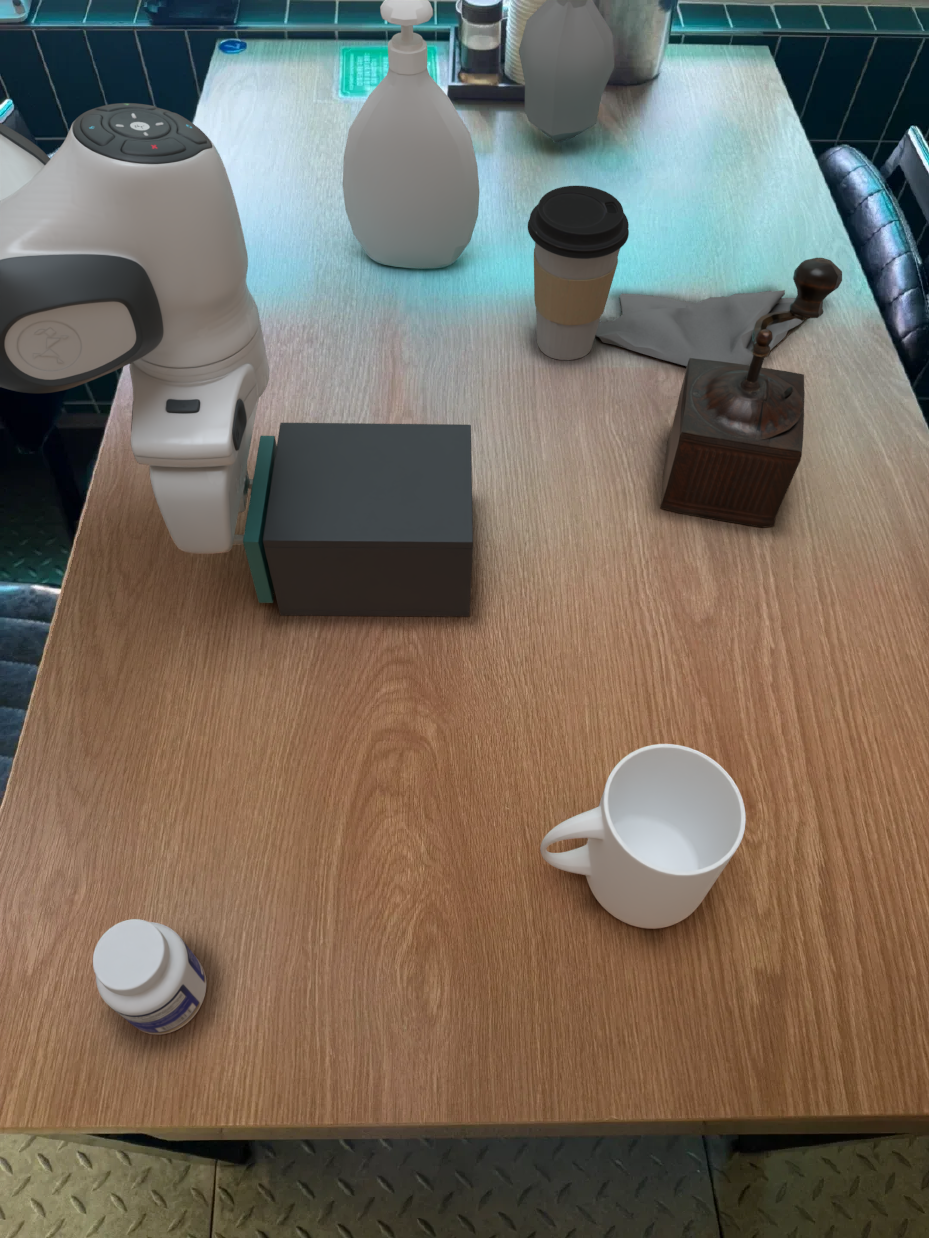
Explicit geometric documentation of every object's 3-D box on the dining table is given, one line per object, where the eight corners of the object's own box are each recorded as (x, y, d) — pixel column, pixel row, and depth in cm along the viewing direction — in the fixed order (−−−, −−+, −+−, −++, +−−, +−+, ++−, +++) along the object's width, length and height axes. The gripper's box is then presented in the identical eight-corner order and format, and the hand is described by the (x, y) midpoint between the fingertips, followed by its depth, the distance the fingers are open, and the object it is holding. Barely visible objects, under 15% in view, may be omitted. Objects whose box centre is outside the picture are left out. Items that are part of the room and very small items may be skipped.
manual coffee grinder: (781, 532, 84) (853, 372, 70) (657, 510, 85) (702, 348, 71) (784, 415, 93) (848, 251, 78) (671, 397, 94) (715, 232, 80)
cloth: (598, 377, 96) (602, 359, 94) (582, 293, 104) (585, 275, 102) (850, 373, 97) (858, 355, 95) (816, 291, 105) (822, 273, 103)
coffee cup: (627, 351, 98) (653, 218, 86) (555, 384, 95) (571, 251, 83) (571, 303, 103) (588, 170, 90) (500, 333, 99) (508, 199, 87)
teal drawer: (202, 602, 77) (181, 541, 71) (222, 499, 84) (204, 434, 78) (435, 604, 78) (435, 543, 71) (437, 501, 84) (436, 437, 78)
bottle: (497, 147, 121) (511, -143, 97) (543, 111, 127) (568, -171, 102) (572, 175, 118) (607, -117, 93) (617, 138, 123) (661, -148, 98)
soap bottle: (479, 238, 109) (490, -27, 87) (474, 280, 105) (484, 12, 83) (354, 230, 110) (333, -36, 88) (344, 272, 105) (319, 2, 83)
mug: (528, 816, 68) (541, 747, 59) (692, 810, 69) (729, 740, 60) (539, 937, 63) (555, 880, 54) (716, 929, 64) (760, 872, 55)
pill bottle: (134, 948, 62) (94, 903, 55) (214, 951, 62) (184, 907, 55) (114, 1035, 59) (69, 999, 52) (198, 1038, 59) (165, 1003, 52)
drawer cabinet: (280, 615, 78) (262, 540, 70) (294, 501, 85) (280, 422, 77) (469, 616, 78) (472, 542, 70) (468, 503, 85) (470, 424, 78)
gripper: (180, 267, 70) (216, 408, 81) (124, 466, 58) (176, 599, 70) (265, 268, 70) (290, 409, 81) (226, 467, 58) (262, 600, 70)
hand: (237, 498), depth 75 cm, fingers closed
